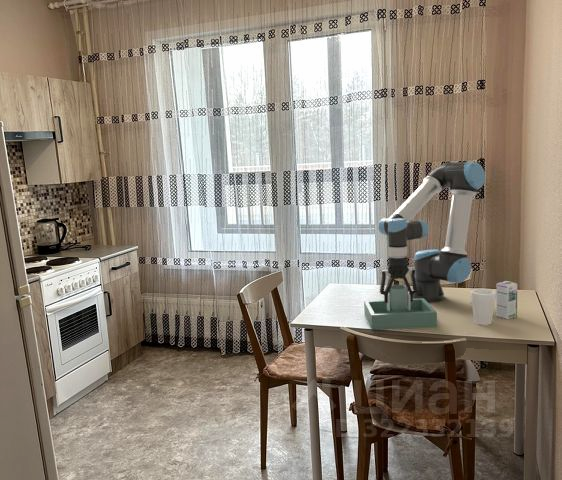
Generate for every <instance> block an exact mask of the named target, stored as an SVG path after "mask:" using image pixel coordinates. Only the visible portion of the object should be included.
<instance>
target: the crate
mask: <svg viewBox="0 0 562 480" xmlns="http://www.w3.org/2000/svg"><path fill="white" fill-rule="evenodd" d="M363 306H364V307H363V308H364V310H363V311H364V317H365V318H366V321H367V323H368V324H369V327H370V329H371V330H393V329H395V330H396V329H413V328H415V329H416V328H431V327H432V328H434V327H435V328H436V327H437V326H438V319H437V318H438V313H437V311H436V309H434V308H433V307H432V306H431V304H430V302H427V301H426V300H425V299H424V298H417V299H413V301H412V302H410V310H408V309H407V308H406V309H405V310H404V311H394V310H392V309H391V307H390V311H388V310H387V303H385V301H384V299H377V300H363Z"/></svg>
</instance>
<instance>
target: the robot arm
mask: <svg viewBox="0 0 562 480" xmlns="http://www.w3.org/2000/svg"><path fill="white" fill-rule="evenodd" d="M485 182H486V173H485V170H484V168H483V166H482V165H481V164H480V163H479V162H476V161H475V162H473V161H459V162H458V161H456V162H445V163H443V164H441V165H439V166H437V167H436V168H434V169H433V170H432V171H431V172H429V173H428V174H427V175H426V176H425V177H424V178H423V182H422V183H421V185H419V186H418V187H417V189H416V190H414V191H413V193H412V194H411V195H410V196H409V197H408V198H407V199H406V200H405V201H404V202H403V203H401V205H400V206H399V207H398V208H397V209H396V210H395V212H394V213H393V214H392V215H391V216H389V217H384V218H381V220H380V221H379V222H378V227H377V228H378V231H379V233H380V234H382V235H384V236H387V237H388V241H387V244H388V268H387V269H385V270H384V269H382V270H380V271H381V272H380V274H381V280H380V287H379V293H380V295H383V300H384V301H385V303H387V310H388V311H390V296H389V291H390V288H391V286H392V285H394V281H395V280H397V279H400V280H401V279H402V280H403V283H404V285H405V286H406V287H408V305H407V309H408V310H410V302H412V301H413V299H417V298H424V299H425V300H426V301H427V302H428V303H434V302H435V303H436V302H441V301H443V300H444V299H445V292H444V290H443V287H442V283H441V281H444V282H449V283H455V284H460V283H464V282H465V281H466V280H467V279H468V278H469V277H470V275H471V271H472V263H471V260H470V259H469V258H468V253H467V251H466V250H465V248H466V244H467V238H468V237H467V236H468V230H469V224H470V223H469V222H470V216H471V210H472V204H473V199H474V196H476V195H477V194H478V190H479V189H481V188H482V187H483V186H484V184H485ZM445 189H449V192H450V193H451V195H452V197H451V203H450V209H449V217H448V222H447V223H448V224H447V229H446V235H445V236H446V237H445V243H444V247H443V248H441V250H439V249H425V250H419V251H416V252H415V253H414V260H413V261H414V262H413V263H414V265H413V266H414V267H413V268H409V267H408V241H411V240H417V239H418V240H419V239H422V238H425V237H427V235H428V233H429V230H430V229H429V226H428V223H427V222H426V221H425V220H422V219H421V220H420V219H417V220H412V219H414V217H415V216H416V215H417V214H418V213H419V212H420V211H421V210H422V209H423V208H424V206H426V204H427V203H429V202H430V200H431V199H432V198H433V197H434V196H435V195H436V194H439V193H441V192H442V191H443V190H445ZM388 273H389V275H390V277H389V280H388V282H387V284H386V279H387V275H388ZM407 274H409V275H410V280H411V285H410V283H409V281H408V278H407ZM411 287H412V288H411Z"/></svg>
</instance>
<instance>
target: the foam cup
mask: <svg viewBox="0 0 562 480" xmlns="http://www.w3.org/2000/svg"><path fill="white" fill-rule="evenodd" d="M496 293H497V291H496V290H493V289H491V288H490V289H489V288H481V287H480V288H474V289H471V290H470V294H469V295H470V300H471V308H472V315H473V321H474V324H475V323H477V324H476V325H478V324H481V325H480V326H488V325H487V324H490V323H491V324H492V321H493V315H494V309H495V302H496V298H497V297H496ZM491 324H490V325H491Z"/></svg>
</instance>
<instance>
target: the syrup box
mask: <svg viewBox="0 0 562 480" xmlns="http://www.w3.org/2000/svg"><path fill="white" fill-rule="evenodd" d="M495 286H496V290H495V291H496V298H495V301H496V316H497V317H498V316H499V318H501V317H503V318H502V319H504V318H506V319H505V320H510V318H511V319H514V318H517V317H518V283H517V282H514V281H508V280H504V281H502V282H501V281H500V282H497V283H496V285H495ZM513 317H514V318H513Z"/></svg>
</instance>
